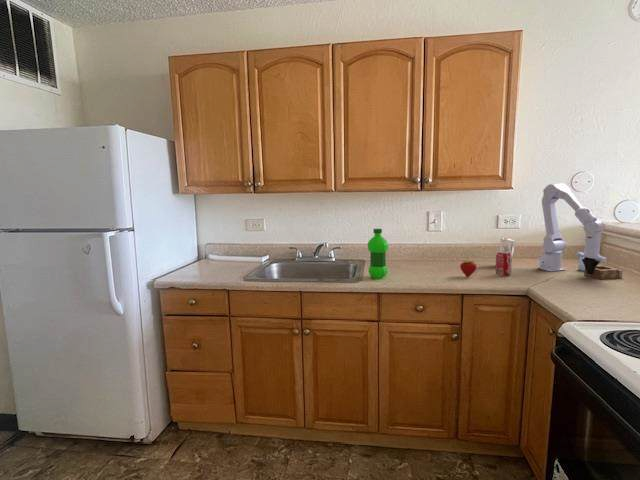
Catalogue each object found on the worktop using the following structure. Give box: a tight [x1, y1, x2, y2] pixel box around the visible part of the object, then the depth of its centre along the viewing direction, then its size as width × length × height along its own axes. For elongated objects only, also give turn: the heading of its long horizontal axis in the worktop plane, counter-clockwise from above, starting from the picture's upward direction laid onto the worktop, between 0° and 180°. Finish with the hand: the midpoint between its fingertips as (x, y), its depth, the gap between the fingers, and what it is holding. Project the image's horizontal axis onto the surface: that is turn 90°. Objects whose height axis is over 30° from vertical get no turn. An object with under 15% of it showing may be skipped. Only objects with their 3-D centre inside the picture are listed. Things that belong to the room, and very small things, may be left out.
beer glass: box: [499, 237, 515, 257], centre depth 194 cm, size 7×7×15 cm
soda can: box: [495, 250, 513, 278], centre depth 176 cm, size 7×7×12 cm
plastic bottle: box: [367, 228, 389, 280], centre depth 179 cm, size 10×10×25 cm
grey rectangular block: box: [577, 256, 585, 273], centre depth 180 cm, size 4×4×7 cm
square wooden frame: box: [583, 264, 620, 280], centre depth 169 cm, size 9×9×4 cm
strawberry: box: [459, 257, 477, 278], centre depth 175 cm, size 6×8×10 cm
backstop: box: [617, 269, 623, 279], centre depth 170 cm, size 2×10×4 cm, turn 6°
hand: (589, 273), depth 169 cm, fingers closed, pressing on square wooden frame
